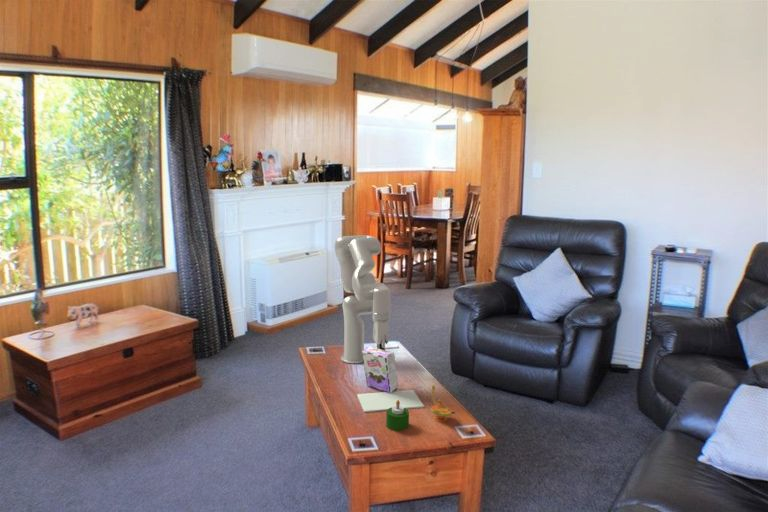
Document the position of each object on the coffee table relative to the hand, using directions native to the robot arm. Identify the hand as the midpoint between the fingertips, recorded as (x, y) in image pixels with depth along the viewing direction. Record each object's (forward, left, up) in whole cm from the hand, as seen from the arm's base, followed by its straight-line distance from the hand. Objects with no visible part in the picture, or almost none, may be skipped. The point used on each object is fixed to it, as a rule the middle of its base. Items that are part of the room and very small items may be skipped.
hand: (380, 357), depth 251 cm
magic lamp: (+38, +16, -12) cm, 43 cm away
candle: (+39, -2, -12) cm, 41 cm away
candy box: (+5, 0, -12) cm, 13 cm away
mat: (+18, 0, -12) cm, 21 cm away
